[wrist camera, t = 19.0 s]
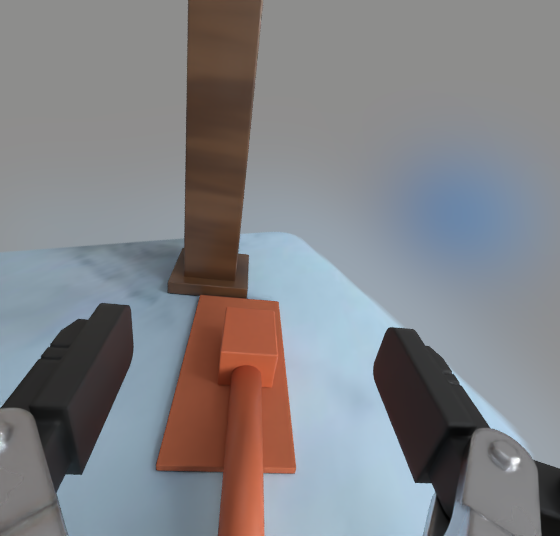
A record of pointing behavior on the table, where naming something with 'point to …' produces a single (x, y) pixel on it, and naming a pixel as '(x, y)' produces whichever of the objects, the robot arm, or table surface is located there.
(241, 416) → the orange toy mallet
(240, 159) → the wooden square pillar
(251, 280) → the table surface
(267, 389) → the terracotta mat
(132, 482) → the table surface
